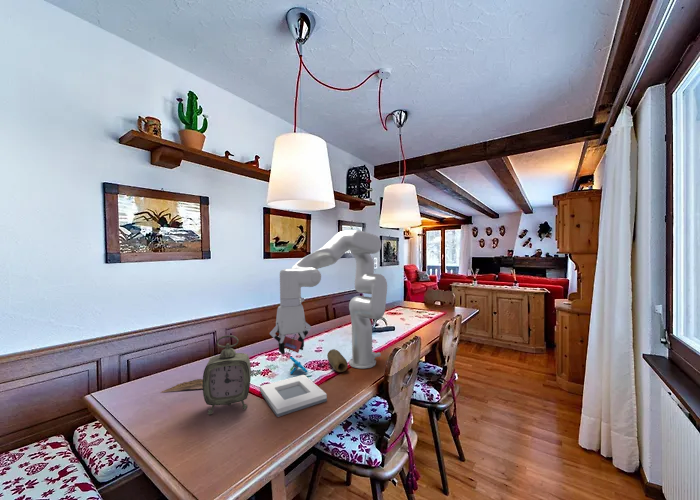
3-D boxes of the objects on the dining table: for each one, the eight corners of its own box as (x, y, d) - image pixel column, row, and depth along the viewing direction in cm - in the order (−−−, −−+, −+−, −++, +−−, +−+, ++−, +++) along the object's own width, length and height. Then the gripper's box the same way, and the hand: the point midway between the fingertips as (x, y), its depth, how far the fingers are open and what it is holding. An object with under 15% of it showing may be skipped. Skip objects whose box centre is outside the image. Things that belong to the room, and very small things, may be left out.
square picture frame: (304, 380, 121) (304, 374, 121) (326, 400, 105) (326, 393, 105) (260, 392, 112) (259, 385, 112) (277, 417, 95) (277, 409, 95)
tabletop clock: (203, 418, 95) (201, 341, 95) (208, 404, 104) (207, 333, 104) (250, 411, 99) (249, 336, 99) (251, 398, 107) (250, 329, 108)
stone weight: (324, 363, 140) (324, 349, 140) (338, 360, 143) (338, 347, 143) (335, 375, 126) (335, 359, 126) (350, 372, 129) (350, 357, 129)
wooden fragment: (233, 375, 129) (233, 372, 129) (232, 385, 119) (232, 382, 119) (165, 386, 120) (165, 383, 120) (158, 398, 110) (158, 395, 110)
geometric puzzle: (307, 343, 112) (294, 327, 112) (305, 349, 105) (291, 332, 105) (292, 355, 112) (279, 339, 112) (289, 362, 105) (275, 345, 105)
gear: (310, 372, 126) (293, 357, 125) (301, 384, 124) (283, 369, 123) (306, 366, 136) (289, 352, 135) (297, 377, 134) (280, 363, 133)
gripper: (308, 298, 116) (309, 344, 116) (264, 303, 107) (265, 353, 107) (316, 301, 110) (317, 349, 110) (270, 306, 101) (271, 359, 100)
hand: (291, 350), depth 108 cm, fingers closed on geometric puzzle, 6 cm apart
